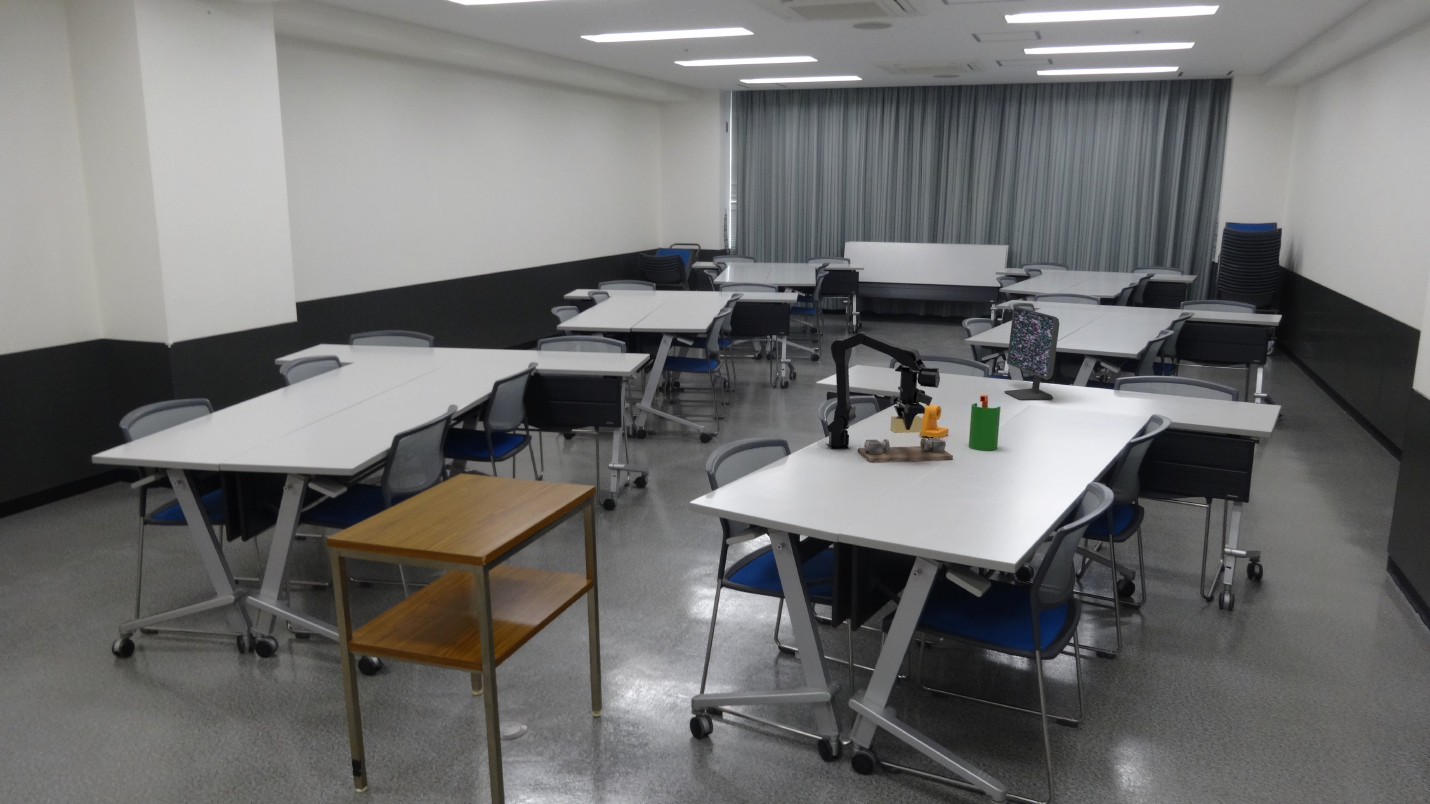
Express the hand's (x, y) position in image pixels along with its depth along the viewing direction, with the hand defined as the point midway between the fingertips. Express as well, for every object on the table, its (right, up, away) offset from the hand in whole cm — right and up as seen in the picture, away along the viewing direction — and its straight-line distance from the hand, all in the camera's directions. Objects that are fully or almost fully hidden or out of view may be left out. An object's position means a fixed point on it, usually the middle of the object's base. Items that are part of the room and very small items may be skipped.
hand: (905, 428), depth 334 cm
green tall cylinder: (+31, -8, +15) cm, 36 cm away
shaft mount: (0, -10, +2) cm, 10 cm away
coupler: (0, -1, 0) cm, 1 cm away
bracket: (+17, -4, +32) cm, 36 cm away
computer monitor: (+79, +12, +110) cm, 136 cm away
